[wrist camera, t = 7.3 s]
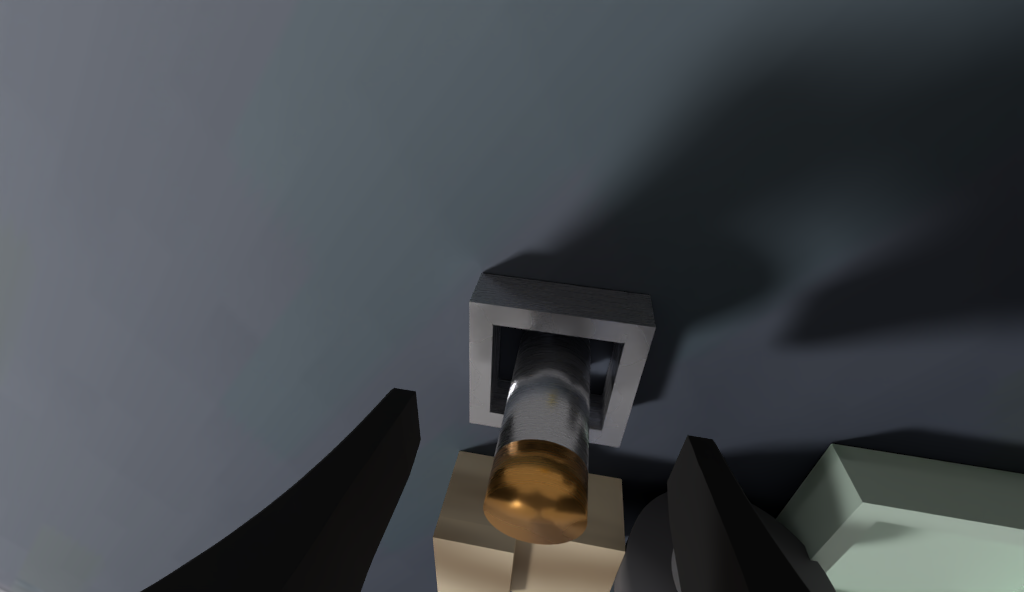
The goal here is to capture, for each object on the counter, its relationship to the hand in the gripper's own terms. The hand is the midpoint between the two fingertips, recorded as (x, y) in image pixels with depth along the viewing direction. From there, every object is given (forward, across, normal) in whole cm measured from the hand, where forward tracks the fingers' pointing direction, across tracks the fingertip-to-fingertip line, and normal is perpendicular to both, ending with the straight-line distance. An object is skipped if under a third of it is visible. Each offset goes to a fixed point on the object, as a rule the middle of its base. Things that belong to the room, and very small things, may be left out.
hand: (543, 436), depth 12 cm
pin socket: (+4, 0, 0) cm, 4 cm away
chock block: (+4, 0, +9) cm, 10 cm away
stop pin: (+4, 0, 0) cm, 4 cm away
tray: (+4, -15, +8) cm, 17 cm away
